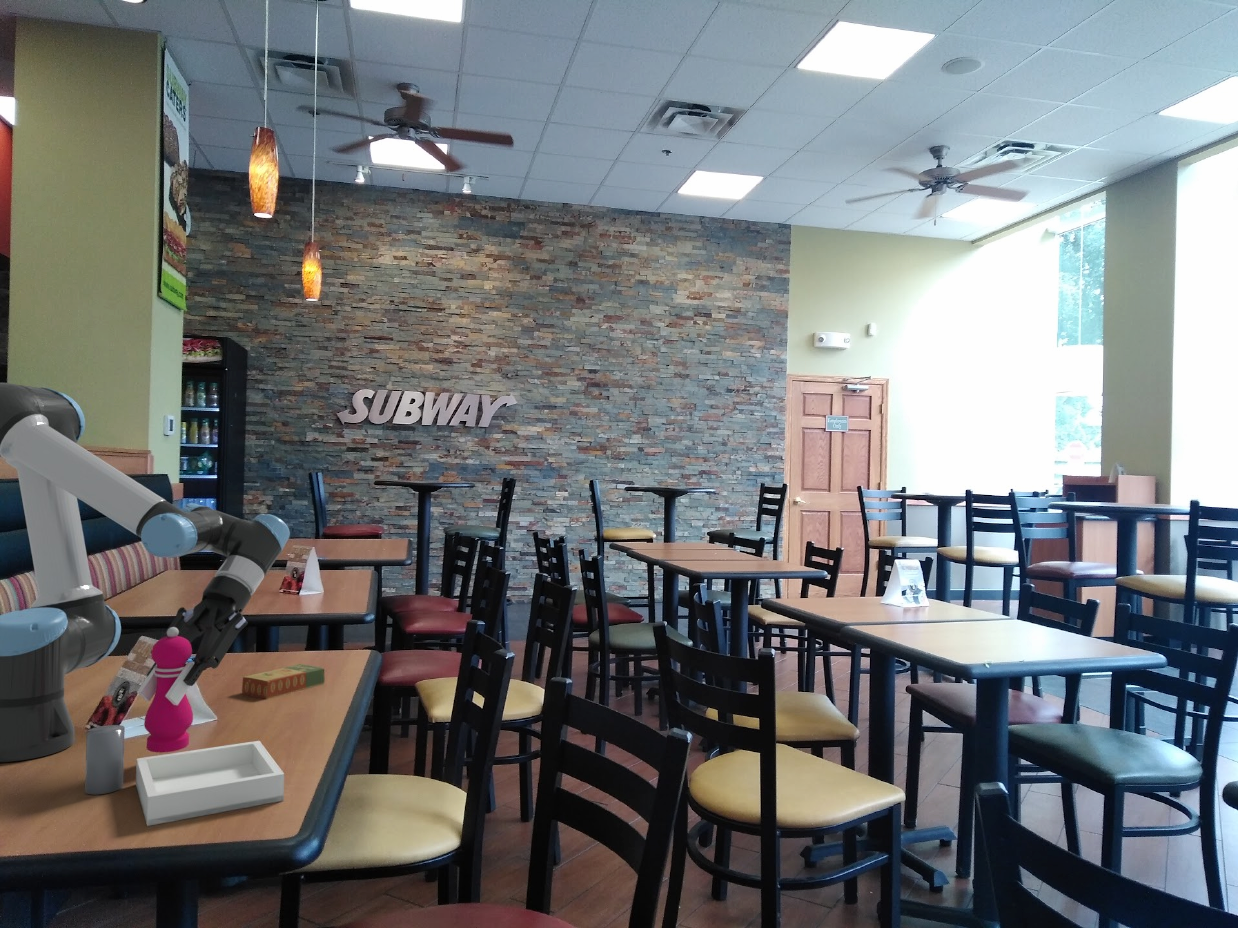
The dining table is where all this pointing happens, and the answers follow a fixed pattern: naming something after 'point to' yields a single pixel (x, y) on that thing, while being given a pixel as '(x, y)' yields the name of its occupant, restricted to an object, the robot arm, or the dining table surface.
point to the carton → (282, 681)
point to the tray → (207, 781)
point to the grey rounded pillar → (104, 759)
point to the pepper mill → (162, 715)
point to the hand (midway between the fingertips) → (157, 698)
